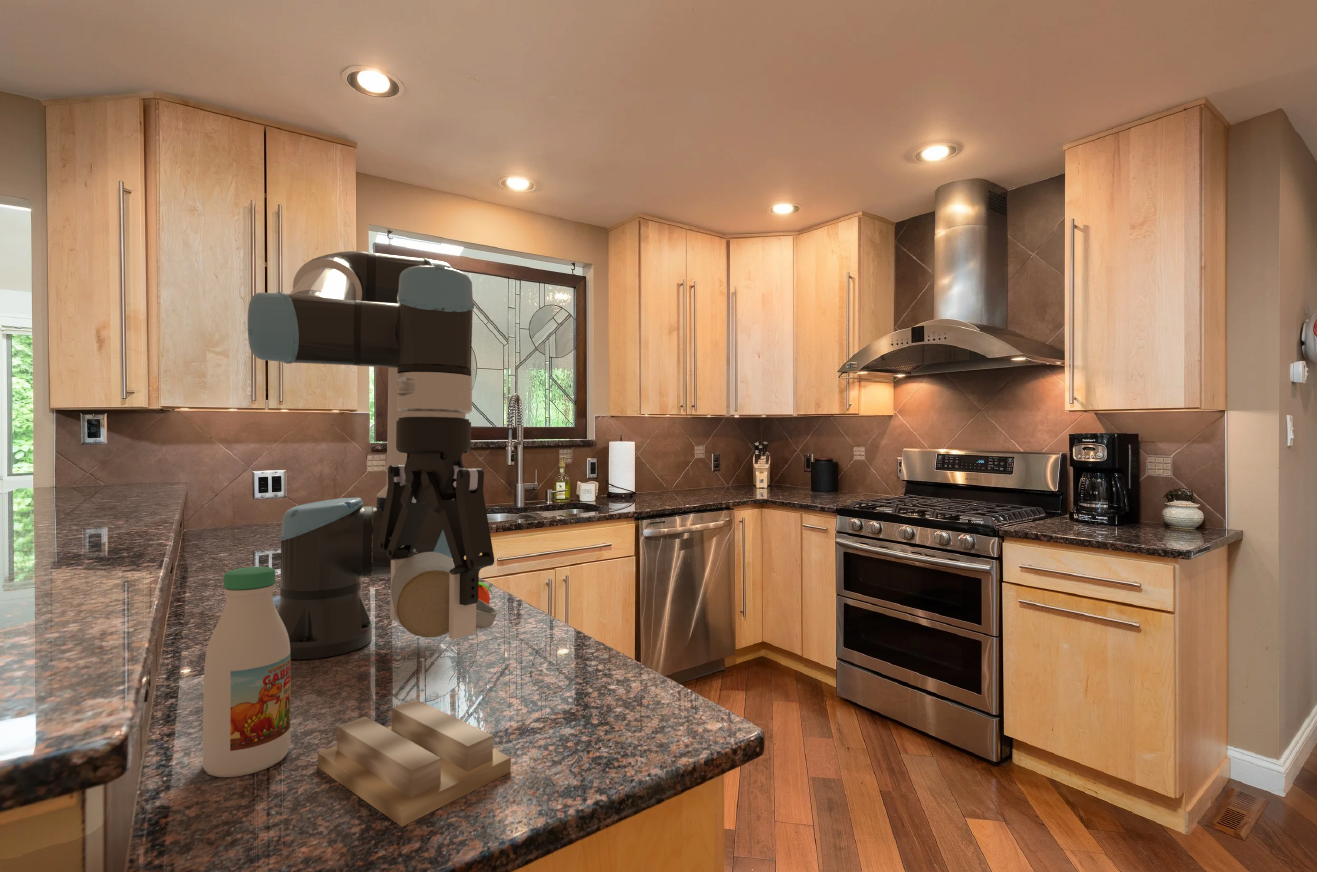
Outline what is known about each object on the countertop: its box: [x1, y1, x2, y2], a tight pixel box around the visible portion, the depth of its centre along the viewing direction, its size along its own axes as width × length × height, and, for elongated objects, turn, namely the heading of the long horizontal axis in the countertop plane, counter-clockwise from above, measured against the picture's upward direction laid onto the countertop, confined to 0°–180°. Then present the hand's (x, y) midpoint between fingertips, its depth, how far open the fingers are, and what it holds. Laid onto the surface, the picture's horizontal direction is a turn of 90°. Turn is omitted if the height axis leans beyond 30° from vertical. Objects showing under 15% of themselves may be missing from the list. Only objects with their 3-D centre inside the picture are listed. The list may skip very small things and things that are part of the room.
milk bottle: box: [202, 566, 292, 778], centre depth 68 cm, size 8×8×20 cm
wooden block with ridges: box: [317, 699, 512, 828], centre depth 66 cm, size 16×12×4 cm
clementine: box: [478, 581, 494, 605], centre depth 121 cm, size 8×7×7 cm
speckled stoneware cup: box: [390, 552, 498, 639], centre depth 69 cm, size 11×8×8 cm
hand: (431, 626), depth 68 cm, fingers closed on speckled stoneware cup, 10 cm apart
